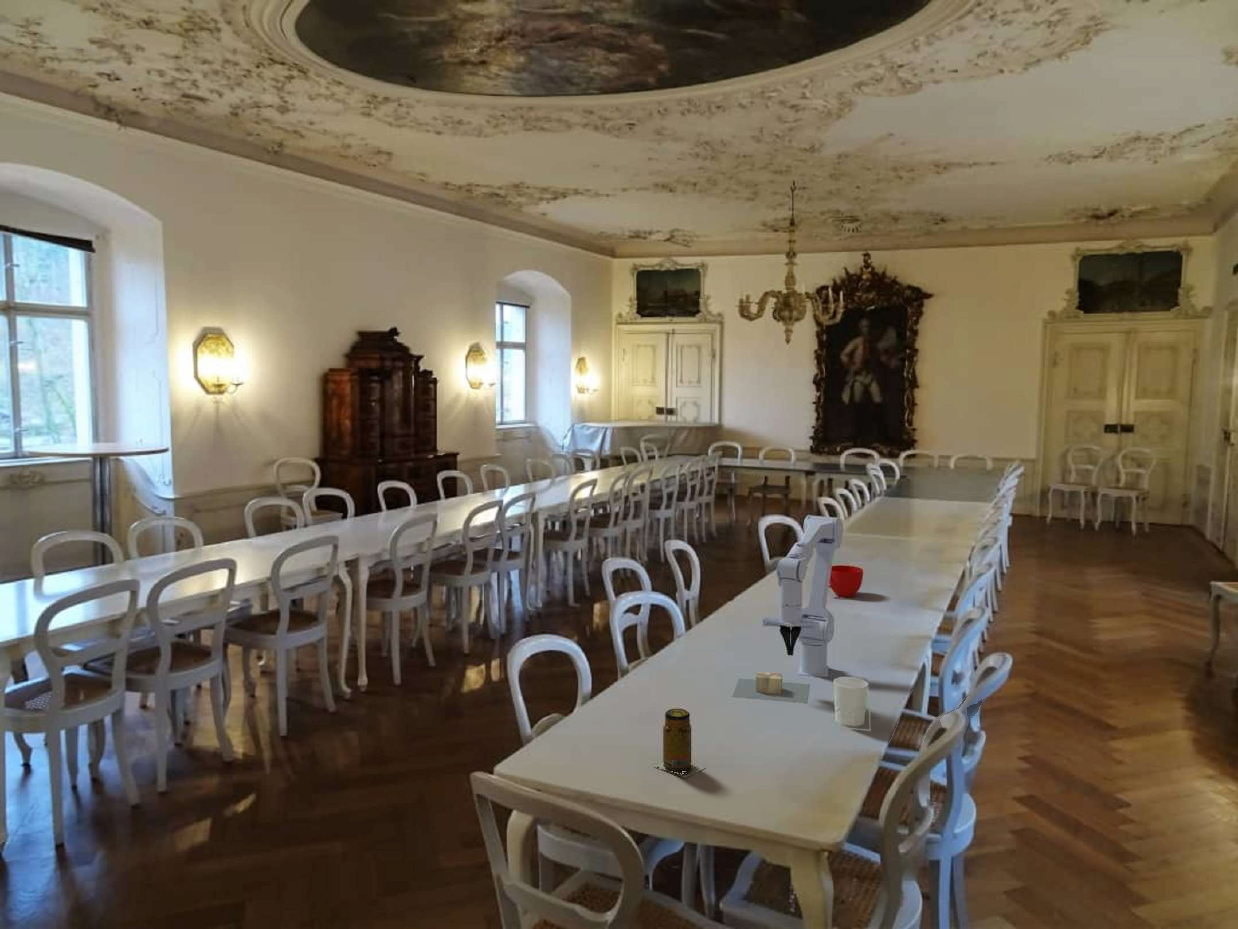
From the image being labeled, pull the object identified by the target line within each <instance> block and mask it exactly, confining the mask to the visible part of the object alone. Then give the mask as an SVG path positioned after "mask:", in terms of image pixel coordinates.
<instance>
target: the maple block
mask: <svg viewBox="0 0 1238 929" xmlns="http://www.w3.org/2000/svg"><path fill="white" fill-rule="evenodd" d="M755 680H756V692H766V693H777V694H781V691H782V682H783V674H782V673H776V672H764V671H763V672H762V671H757V673H756V675H755Z"/></svg>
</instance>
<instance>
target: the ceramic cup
mask: <svg viewBox="0 0 1238 929" xmlns="http://www.w3.org/2000/svg"><path fill="white" fill-rule="evenodd" d="M863 578H864V569H863V568H861V567H859V566H854V565H841V564H839V565H838V564H837V565H832V568H831V574H830V581H829V588H830V589H831V590H832V592H834V594H835V595H836V596H837V597H842V598H851V597H854V596H855V595H856V594H857V593H858V591H859V590H860V589H861V586H862V584H863Z"/></svg>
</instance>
